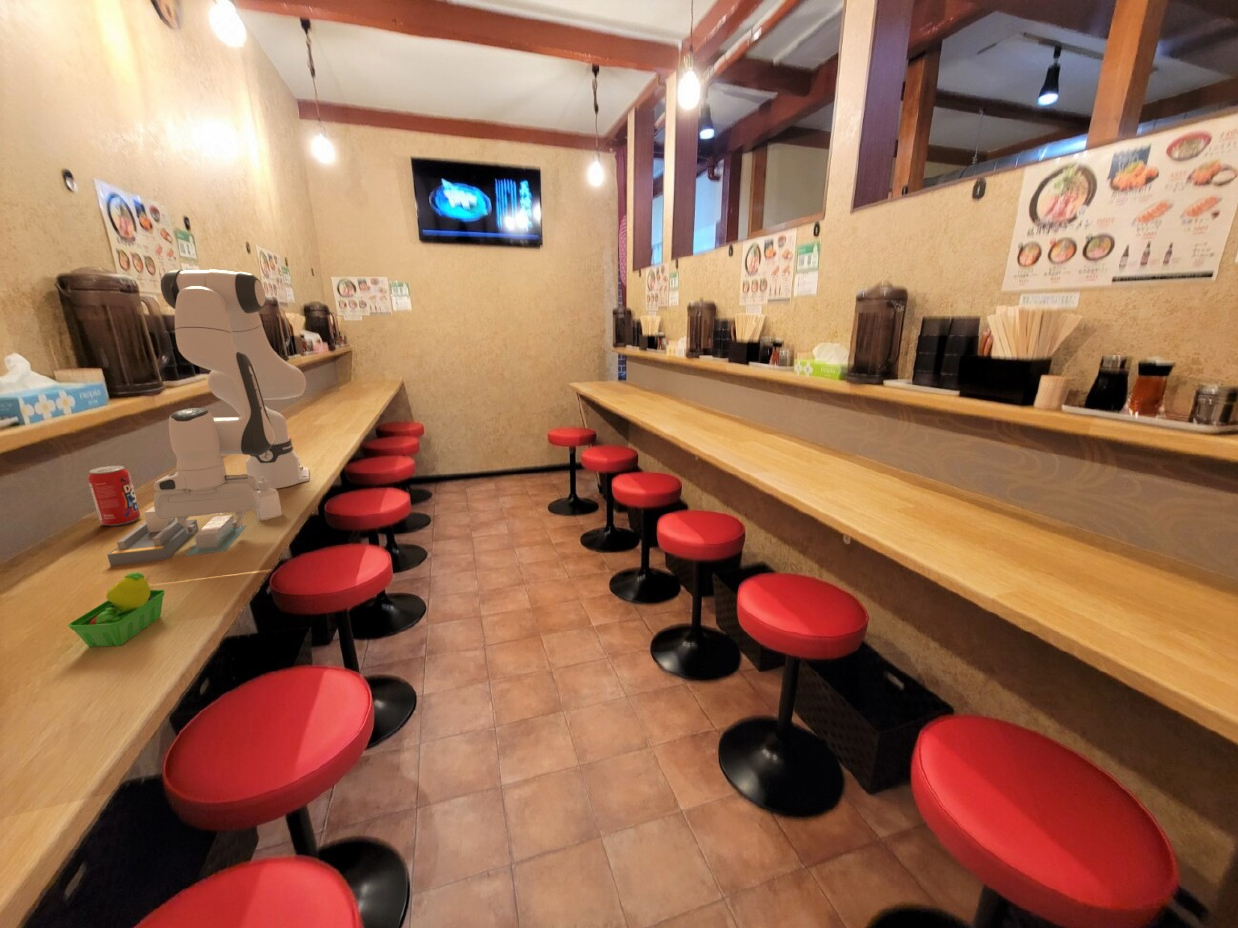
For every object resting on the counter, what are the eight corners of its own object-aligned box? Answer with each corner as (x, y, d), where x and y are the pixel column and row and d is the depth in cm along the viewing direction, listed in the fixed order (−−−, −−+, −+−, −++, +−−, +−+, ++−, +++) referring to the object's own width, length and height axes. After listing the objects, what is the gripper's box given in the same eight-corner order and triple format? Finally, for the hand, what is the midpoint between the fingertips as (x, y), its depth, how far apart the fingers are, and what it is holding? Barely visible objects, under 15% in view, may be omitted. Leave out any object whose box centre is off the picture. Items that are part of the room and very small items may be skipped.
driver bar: (217, 530, 130) (214, 516, 129) (235, 529, 131) (232, 514, 130) (198, 550, 119) (194, 535, 118) (218, 548, 121) (215, 533, 119)
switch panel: (150, 534, 128) (146, 516, 126) (198, 529, 131) (194, 512, 130) (110, 567, 112) (104, 546, 110) (166, 560, 115) (161, 540, 113)
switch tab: (156, 526, 125) (151, 506, 124) (176, 524, 126) (171, 505, 125) (148, 532, 122) (143, 512, 120) (169, 530, 123) (164, 510, 121)
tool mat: (211, 529, 131) (210, 528, 131) (247, 526, 134) (247, 525, 134) (184, 556, 117) (184, 555, 117) (225, 552, 119) (225, 551, 119)
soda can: (92, 526, 132) (76, 472, 127) (124, 515, 139) (110, 463, 135) (118, 528, 131) (103, 474, 126) (149, 517, 138) (135, 465, 134)
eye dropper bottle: (280, 519, 139) (272, 478, 135) (256, 522, 137) (247, 480, 133) (283, 513, 143) (276, 473, 139) (260, 516, 141) (252, 475, 137)
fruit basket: (129, 613, 95) (114, 560, 92) (180, 612, 96) (166, 558, 93) (73, 652, 84) (53, 593, 81) (130, 650, 85) (113, 591, 82)
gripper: (258, 469, 127) (268, 520, 130) (157, 476, 120) (170, 530, 124) (250, 477, 121) (260, 529, 125) (144, 484, 114) (158, 540, 118)
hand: (215, 530), depth 124 cm, fingers open, 8 cm apart
